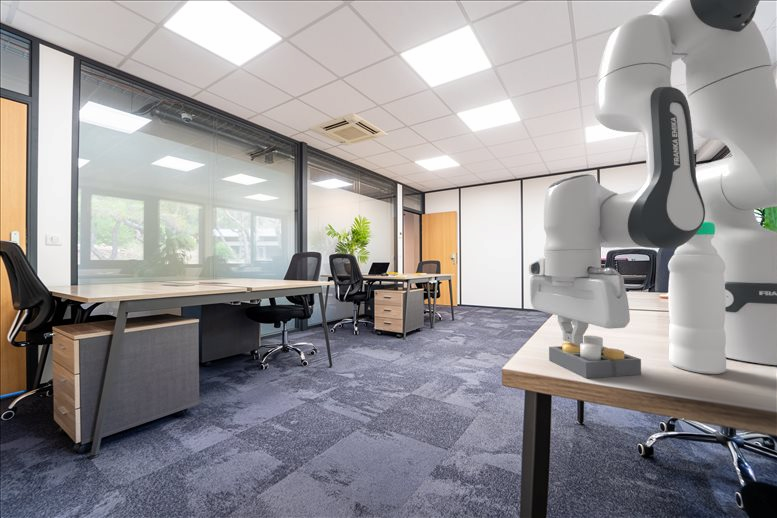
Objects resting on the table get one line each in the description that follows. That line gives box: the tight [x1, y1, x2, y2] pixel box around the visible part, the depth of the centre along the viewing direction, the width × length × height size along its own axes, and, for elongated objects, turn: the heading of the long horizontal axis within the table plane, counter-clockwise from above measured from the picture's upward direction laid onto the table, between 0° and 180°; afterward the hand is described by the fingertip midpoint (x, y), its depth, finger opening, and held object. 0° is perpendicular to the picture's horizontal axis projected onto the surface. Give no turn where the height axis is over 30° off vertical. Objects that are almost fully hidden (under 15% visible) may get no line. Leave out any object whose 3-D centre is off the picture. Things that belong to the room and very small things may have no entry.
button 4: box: [603, 347, 625, 360], centre depth 53 cm, size 3×3×3 cm
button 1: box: [561, 342, 580, 353], centre depth 57 cm, size 3×3×3 cm
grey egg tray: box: [548, 345, 642, 379], centre depth 55 cm, size 10×9×2 cm
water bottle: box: [667, 222, 727, 375], centre depth 54 cm, size 7×7×25 cm
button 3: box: [583, 335, 604, 351], centre depth 58 cm, size 3×3×3 cm
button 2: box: [580, 342, 601, 361], centre depth 53 cm, size 3×3×3 cm
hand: (572, 342), depth 57 cm, fingers closed
